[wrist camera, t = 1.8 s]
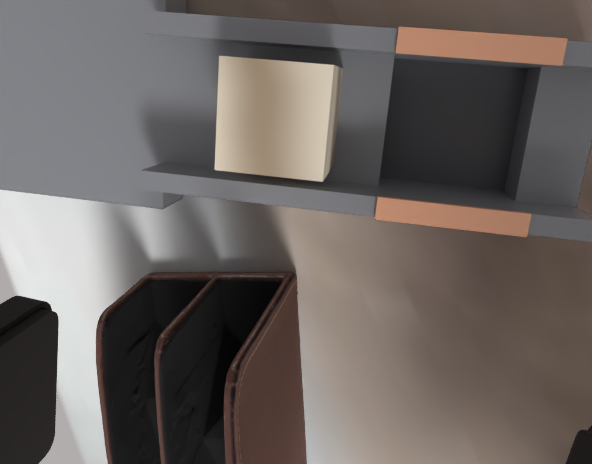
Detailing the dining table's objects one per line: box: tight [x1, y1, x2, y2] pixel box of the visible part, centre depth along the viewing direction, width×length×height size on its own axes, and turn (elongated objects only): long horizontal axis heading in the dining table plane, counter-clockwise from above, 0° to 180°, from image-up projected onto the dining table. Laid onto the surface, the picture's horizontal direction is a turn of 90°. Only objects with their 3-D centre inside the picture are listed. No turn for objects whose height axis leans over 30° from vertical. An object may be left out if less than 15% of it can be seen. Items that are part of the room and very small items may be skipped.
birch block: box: [215, 56, 343, 182], centre depth 26 cm, size 5×5×5 cm
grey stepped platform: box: [0, 0, 592, 242], centre depth 29 cm, size 34×12×6 cm, turn 85°
